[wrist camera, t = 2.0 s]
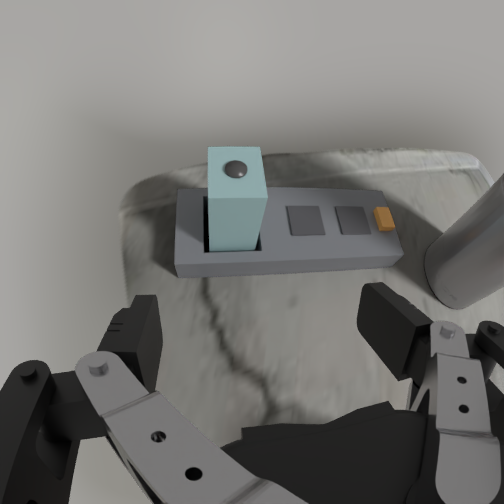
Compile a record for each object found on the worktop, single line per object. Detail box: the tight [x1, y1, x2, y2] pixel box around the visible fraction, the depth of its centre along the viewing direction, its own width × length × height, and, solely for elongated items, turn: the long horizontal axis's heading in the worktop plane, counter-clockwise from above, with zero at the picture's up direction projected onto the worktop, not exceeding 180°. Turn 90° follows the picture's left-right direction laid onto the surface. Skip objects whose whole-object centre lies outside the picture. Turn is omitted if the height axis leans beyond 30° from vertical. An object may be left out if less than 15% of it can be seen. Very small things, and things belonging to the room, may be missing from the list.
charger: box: [208, 146, 268, 253], centre depth 25 cm, size 4×5×10 cm
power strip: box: [174, 187, 404, 278], centre depth 29 cm, size 22×8×4 cm, turn 95°
